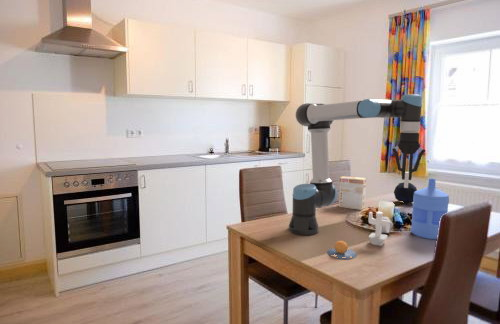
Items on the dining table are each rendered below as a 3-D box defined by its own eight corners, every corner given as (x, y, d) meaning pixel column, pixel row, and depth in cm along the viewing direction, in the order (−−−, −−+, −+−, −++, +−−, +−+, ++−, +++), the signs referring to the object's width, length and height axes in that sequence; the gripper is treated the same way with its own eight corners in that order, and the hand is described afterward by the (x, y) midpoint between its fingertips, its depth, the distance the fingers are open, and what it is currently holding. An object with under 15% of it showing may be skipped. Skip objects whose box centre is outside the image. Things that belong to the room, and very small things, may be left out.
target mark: (325, 256, 147) (325, 256, 147) (329, 246, 158) (329, 246, 158) (355, 261, 142) (355, 260, 142) (357, 250, 153) (357, 250, 153)
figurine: (386, 248, 156) (388, 215, 154) (365, 243, 162) (366, 212, 160) (390, 243, 163) (392, 211, 160) (369, 239, 168) (371, 208, 166)
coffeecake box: (364, 207, 224) (366, 177, 221) (361, 210, 218) (363, 179, 215) (341, 204, 232) (343, 175, 229) (338, 206, 226) (339, 177, 223)
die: (390, 237, 172) (398, 220, 174) (374, 228, 173) (383, 211, 175) (383, 237, 180) (391, 221, 182) (368, 228, 181) (377, 212, 183)
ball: (349, 247, 146) (341, 257, 147) (351, 245, 151) (344, 255, 152) (338, 239, 148) (330, 249, 149) (340, 237, 153) (333, 247, 154)
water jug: (411, 227, 185) (414, 175, 181) (445, 232, 178) (449, 178, 175) (410, 236, 171) (414, 180, 168) (446, 242, 165) (451, 183, 161)
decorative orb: (391, 191, 248) (394, 176, 238) (414, 192, 244) (418, 178, 234) (393, 207, 238) (395, 193, 228) (417, 208, 234) (421, 194, 224)
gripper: (426, 132, 148) (422, 186, 151) (392, 131, 152) (389, 184, 156) (427, 132, 141) (423, 190, 144) (393, 132, 146) (389, 187, 149)
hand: (405, 187), depth 150 cm, fingers closed
